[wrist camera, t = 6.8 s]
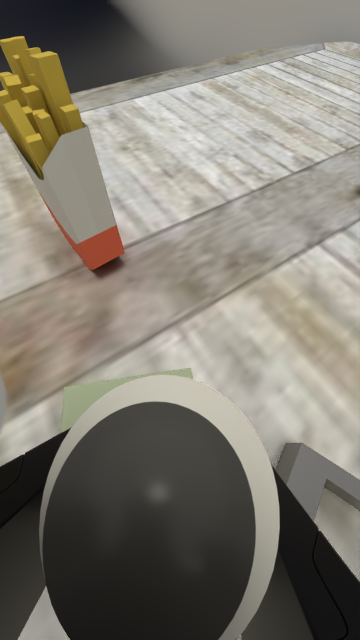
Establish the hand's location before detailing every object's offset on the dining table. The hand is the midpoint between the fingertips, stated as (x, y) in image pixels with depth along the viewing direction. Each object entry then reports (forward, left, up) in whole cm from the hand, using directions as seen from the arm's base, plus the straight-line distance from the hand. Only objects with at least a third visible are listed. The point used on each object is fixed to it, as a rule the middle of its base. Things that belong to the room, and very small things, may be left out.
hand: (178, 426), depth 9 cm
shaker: (-1, 0, -7) cm, 7 cm away
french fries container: (+24, +8, -14) cm, 29 cm away
